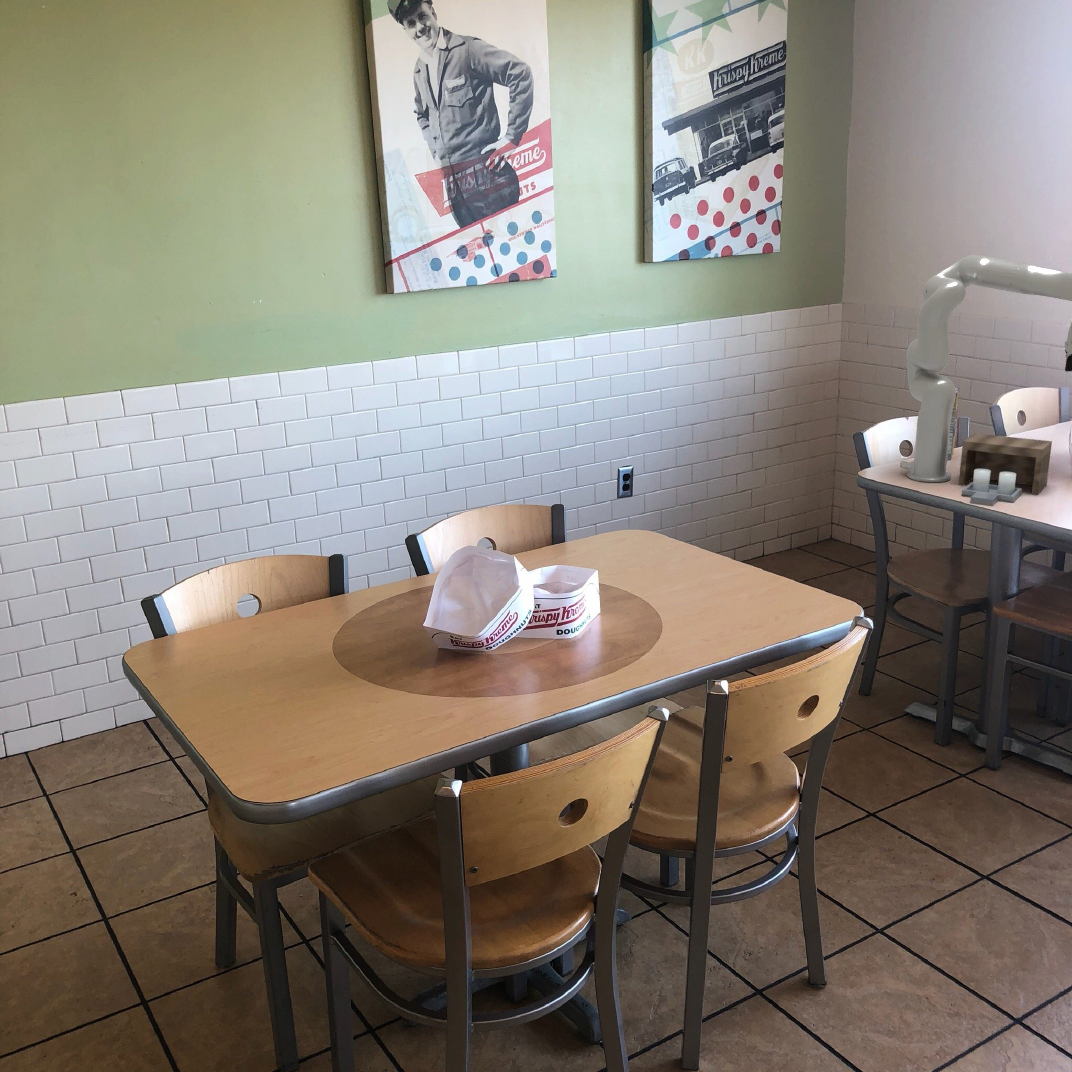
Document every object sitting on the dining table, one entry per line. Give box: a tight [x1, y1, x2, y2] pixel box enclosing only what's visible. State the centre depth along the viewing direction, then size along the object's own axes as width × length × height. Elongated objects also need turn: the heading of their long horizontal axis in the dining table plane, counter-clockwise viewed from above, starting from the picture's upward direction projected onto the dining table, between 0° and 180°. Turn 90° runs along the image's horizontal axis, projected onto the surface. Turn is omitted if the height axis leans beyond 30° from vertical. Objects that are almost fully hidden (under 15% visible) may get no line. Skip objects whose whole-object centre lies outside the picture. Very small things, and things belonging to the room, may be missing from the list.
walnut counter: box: [958, 432, 1053, 496], centre depth 314 cm, size 22×12×14 cm, turn 54°
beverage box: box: [947, 387, 960, 461], centre depth 349 cm, size 7×11×22 cm, turn 156°
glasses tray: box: [961, 469, 1023, 507], centre depth 303 cm, size 14×16×7 cm
